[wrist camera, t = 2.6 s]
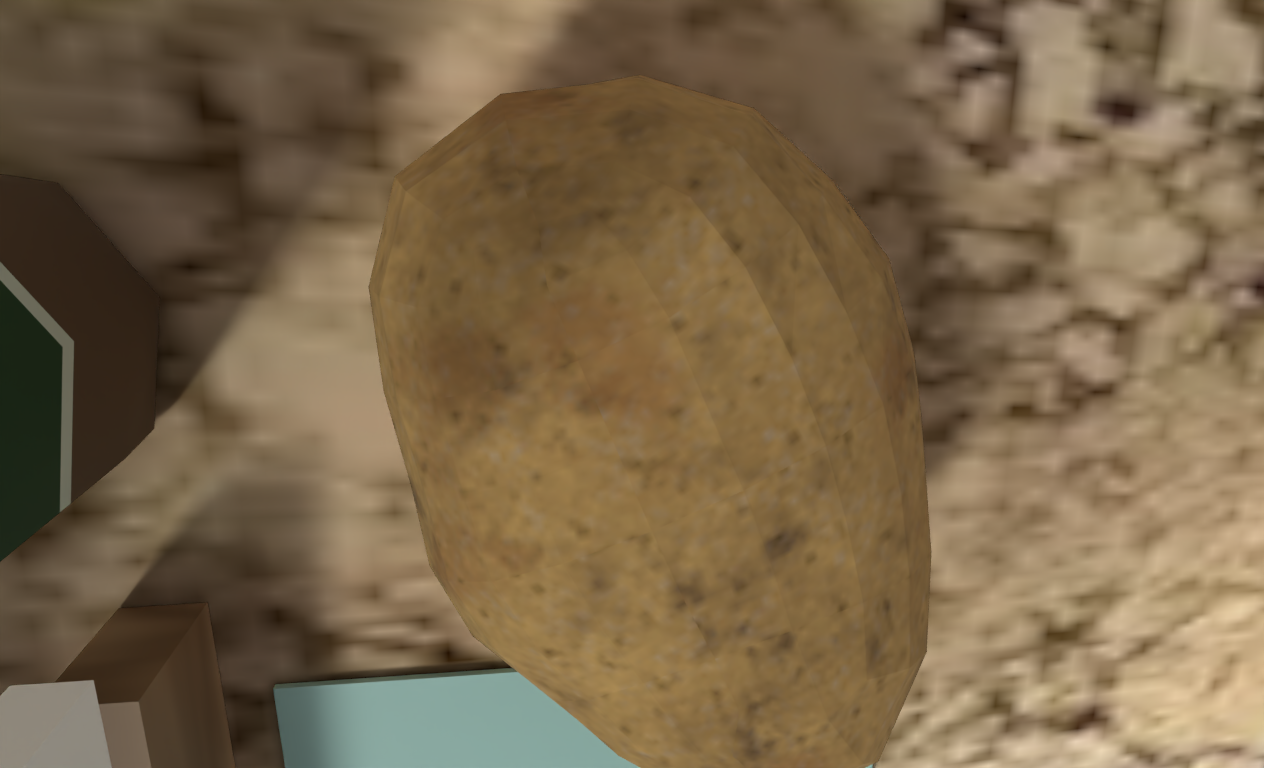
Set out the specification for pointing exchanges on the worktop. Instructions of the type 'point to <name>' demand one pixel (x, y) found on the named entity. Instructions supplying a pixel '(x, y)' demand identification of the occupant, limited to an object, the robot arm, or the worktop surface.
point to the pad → (433, 724)
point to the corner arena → (158, 688)
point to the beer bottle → (66, 356)
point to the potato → (661, 423)
